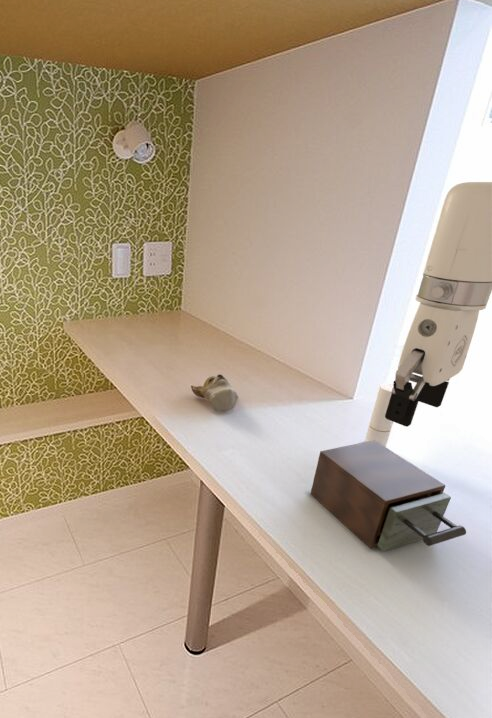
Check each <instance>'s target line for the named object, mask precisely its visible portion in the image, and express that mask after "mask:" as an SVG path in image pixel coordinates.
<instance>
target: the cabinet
mask: <svg viewBox="0 0 492 718" xmlns="http://www.w3.org/2000/svg"><path fill="white" fill-rule="evenodd" d="M445 489H446V484H444V483H442V482H441V481H440V480H438V479H436V478H435V477H433V476H431V475H430V474H429V473H427V472H426V471H424V470H423V469H420V468H419V467H418V466H416V465H414V464H413V463H411V462H410V461H408V460H406V459H405V458H403V457H402V456H400V455H399V454H397V453H396V452H394V451H392V450H391V449H389V448H388V447H387V446H386V447H384V446H383V445H381V444H380V443H378V442H376V441H375V440H373V441H368V442H363V441H362V442H359V443H353V444H349V445H344V446H339V447H334V448H330V449H324V450H320V452H319V455H318V460H317V464H316V468H315V473H314V477H313V481H312V485H311V490H310V495H311V496H312V497H313V498H314V499H315V500H316V501H318V502H319V503H320V504H321V505H322V506H323V507H324V508H325V509H326V510H327V511H328V512H329V513H331V514H332V515H333V516H334V517H335V518H336V519H337V520H338V521H339V522H341V524H343V526H345V527H346V528H347V529H348V530H349V531H351V532H352V533H353V534H354V536H356V537H357V538H358V539H359V541H361V542H363V544H365V546H367V547H368V548H369V549H374V548H377V547H378V546H377V545H378V542H379V539H380V536H378V534H379V531H380V528H381V525H382V522H383V519H384V516H385V513H386V510H387V507H388V504H391V503H395V502H399V501H402V500H406V499H410V498H413V497H417V496H421V495H425V494H428V493H432V494H431V496H434V495H438V494H442V493H444V491H445ZM431 496H430V497H431Z"/></svg>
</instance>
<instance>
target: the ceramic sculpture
mask: <svg viewBox="0 0 492 718" xmlns="http://www.w3.org/2000/svg"><path fill="white" fill-rule="evenodd" d="M190 387H191V391H192V393H193V394H194V395H195V396H196V397H198V398H202V399H205V400H206V401H207V402H209V403H210V404H211V407H212V408H213V410H214V411H216V412H222V413H225V412H226V413H227V412H228V411H231V410H233V409H234V408H235V407H236V405H237V404H238V399H239V395H238V393H237V391H236V390H235V389H233V388H232V385H231V384H230V382H229V381H228V379H227V377H225V376H223V374H217V375H212V376H209V377H208V378H206V379H205V381H204V383H203V385H198V386H196V385H195V386H194V385H190Z"/></svg>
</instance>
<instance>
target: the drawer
mask: <svg viewBox="0 0 492 718" xmlns="http://www.w3.org/2000/svg"><path fill="white" fill-rule="evenodd" d="M431 494H432V493H428V494H425V495H421V496H417V497H413V498H410V499H406V500H402V501H399V502H395V503H391V504H388V507H387V510H386V513H385V516H384V519H383V522H382V525H381V528H380V531H379V534H378V536H380V539H379V542H378V545H377V547H378V548H379V549H380V550H381V551H382V552H385V551H387V550H390V549H394V548H397V547H401V546H404V545H407V544H410V543H414V542H417V541H420V540H422V541H423V543H424V544H425V545H426V546H428V547H431V546H435V545H437V544H440V543H443V542H447V541H450V540H452V539H455V538H459V537H462V536H465V535H466V534H467V529H466V528H465V527H464V526H462V525H456V524H455V523H453V522H452V521H450V520H449V519H448V518H447V517H445V513H446V510H447V508H448V506H449V503H450V501H451V499H452V496H451V495H448V494H447V493H446V492H443V493H442V494H438V495H434V496H431ZM430 496H431V497H430ZM441 523H443V524H444V525H446V526H447V527H449V528H447V529H443V530H440V531H438V530H439V528H440V526H441Z"/></svg>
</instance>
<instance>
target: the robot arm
mask: <svg viewBox="0 0 492 718" xmlns="http://www.w3.org/2000/svg"><path fill="white" fill-rule="evenodd" d="M430 245H431V246H430V249H429V252H428V254H427V255H428V256H427V258H426V262H425V266H424V269H423V272H422V276H421V279H420V282H419V286H418V289H417V292H416V296H415V301H417V302H419V305H418V308H417V310H416V311H415V315H414V317H413V321H412V323H411V325H410V328H409V331H408V333H407V336H406V338H405V342H404V345H403V347H402V352H401V355H400V357H399V361H398V366H397V369H396V371H395V377H394V378H395V380H394V381H393V382H392V385H394V387H393V389H392V392H391V393H392V394H391V397H390V401H389V404H388V407H387V411H386V414H385V418H386V419H388V420H390V421H393V423H396V424H398V425H400V426H403V427H407V428H408V427H409V426H411V425H412V423H413V419H414V416H415V413H416V411H417V407H418V405H419V402H420V403H423V404H425V405H428V406H431V407H434V408H439V407H441V405H442V403H443V400H444V397H445V396H446V392H447V389H448V387H449V383H450V382H449V381H450V380H451V379H452V378H453V377H455V376H457V375H458V374H459V373H461V371H462V370H463V368H464V365H465V362H466V358H467V356H468V353H469V349H470V346H471V343H472V340H473V336H474V333H475V330H476V326H477V323H478V318H479V314H480V311H484V310H485V309H486V308H487V305H488V303H489V299H490V296H491V295H492V181H468V182H461V183H458V184H456V185H454V186H452V187H451V188H450V189H449V190H448V192H447V194H446V196H445V198H444V201H443V204H442V208H441V212H440V214H439V218H438V222H437V224H436V228H435V232H434V235H433V239H432V242H431V244H430ZM412 382H413V383H415V385H414V387H413V384H412Z"/></svg>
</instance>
